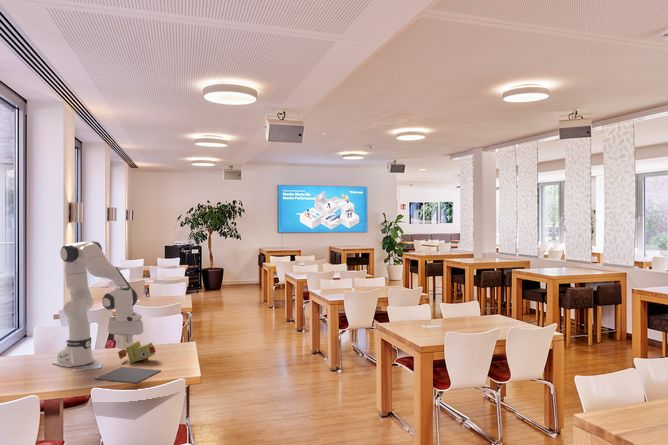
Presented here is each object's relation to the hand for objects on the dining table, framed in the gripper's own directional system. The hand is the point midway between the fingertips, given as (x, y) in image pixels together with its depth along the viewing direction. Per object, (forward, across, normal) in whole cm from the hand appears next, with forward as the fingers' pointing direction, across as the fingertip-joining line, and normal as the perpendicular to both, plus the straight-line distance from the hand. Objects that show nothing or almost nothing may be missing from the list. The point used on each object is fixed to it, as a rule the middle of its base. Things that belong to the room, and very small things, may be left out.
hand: (126, 342), depth 261 cm
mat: (+18, 0, +1) cm, 18 cm away
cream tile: (+2, 0, 0) cm, 3 cm away
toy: (+18, -12, +24) cm, 32 cm away
